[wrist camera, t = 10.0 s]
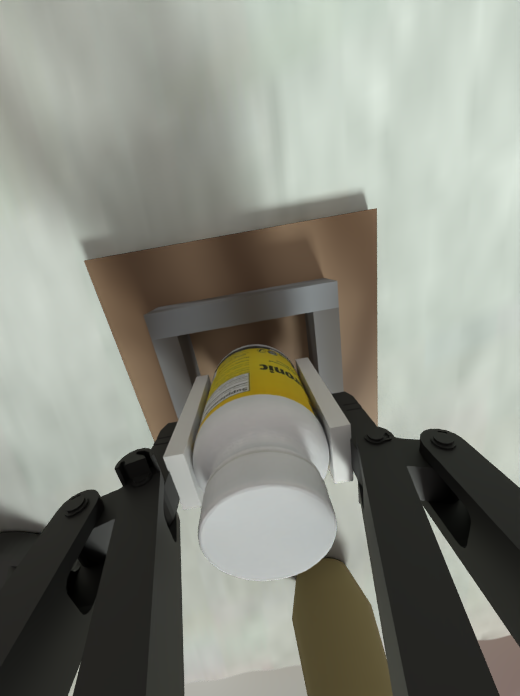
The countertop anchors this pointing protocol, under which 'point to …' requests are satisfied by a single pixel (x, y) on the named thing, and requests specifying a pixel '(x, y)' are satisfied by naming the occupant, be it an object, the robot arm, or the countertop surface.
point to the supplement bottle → (262, 470)
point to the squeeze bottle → (337, 634)
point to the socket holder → (246, 307)
